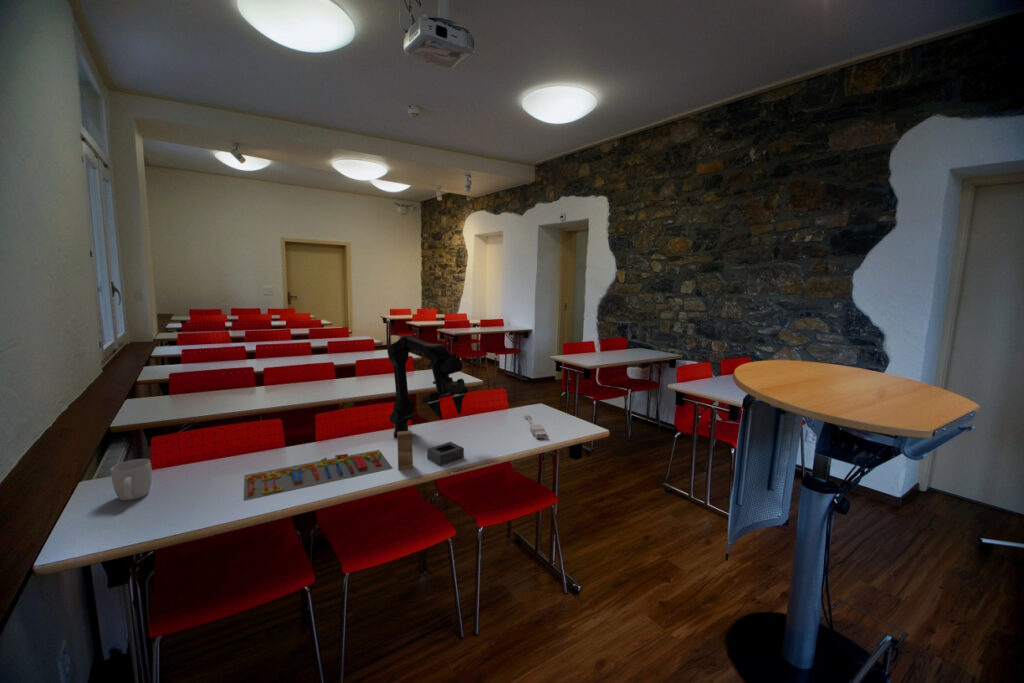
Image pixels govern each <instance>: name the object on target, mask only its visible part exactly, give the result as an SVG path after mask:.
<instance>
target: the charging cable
mask: <svg viewBox="0 0 1024 683" xmlns="http://www.w3.org/2000/svg"><path fill="white" fill-rule="evenodd" d="M523 418H524V420H528V422H529V423H530V428H529V432H530V433H531V435H532V436H533V437H534V438H536V439H540V438H541V439H543V438H547V433H546V430H545V428H544V427H543V425H542V424H535V423H534V422H533V421H532V420H531V415H530V414H524V416H523Z"/></svg>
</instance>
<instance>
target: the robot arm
mask: <svg viewBox="0 0 1024 683" xmlns="http://www.w3.org/2000/svg"><path fill="white" fill-rule="evenodd" d="M412 350H413V351H416V352H419V353H421V354H422V355H423V358H425V359H426V360H428V361H430V363H429V364H428V367H427V368H429V369H430V368H431V371H432V374H433V378H434V381H432V384H433V385H435V388H436V391H435V392H433V393H430V394H427V395H423V396H422V398H421V402H422V404H423V405H424V404H425V405H426V406H428V407H429V408H430V409H431V410H432V412H433V413H434V414H435V415H436V416H437V418H438V419H439V420H440V421H441V420H443V413H442V408H441V402H442V401H441V400H440V399H442V398H447V397H451V396H452V397H451V399H452V401H453V405H454V407H455V409H456V412H457V414H458V415H461V414H462V407H463V402H464V401H463V399H464V398H465V396H467V393H469V389H468V387H467V386H466V383H465V380H464V378H458V379H457V380H456V381H455V380H453V378H452V376H451V377H450V375H452V374H455V373H459V372H461V371H462V369H463V362H462V361H461V359H460V358H459V357H457V354H455V353H452V354H451V353H450V352H449V351H448V349H447V348H446V347H445V345H444V344H442V343H429V342H426V341H424V340H421V339H418V338H416V337H414V336H413V335H405V336H402V337H400V338H399V339H398V340H397V341H395V342H393V343H392V344H391V345H389V346H388V348H387V356H388V360H389V362H390V363H391V365H392V366H393V373H394V374H393V375H394V385H395V396H396V399H395V402H394V404H393V409H392V413H391V414H390V415H389V416H388V419H389V422H390V423H392V424H393V425H394V430H393V438H397V432H401V431H410V430H409V421H412V420H413V419H414V415H415V411H416V410H415V403H414V401H411V399H410V397H409V390H408V388H409V387H408V378H407V368H406V365H407V362H408V360H409V357H410V352H411V351H412Z"/></svg>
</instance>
